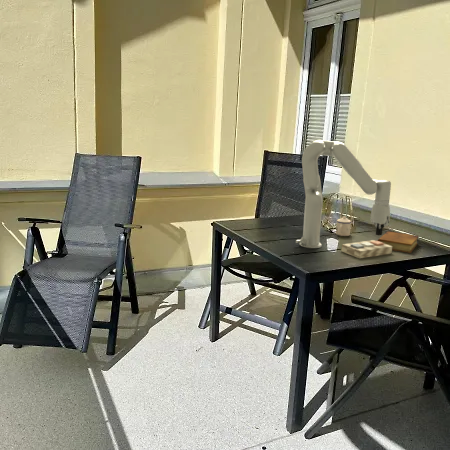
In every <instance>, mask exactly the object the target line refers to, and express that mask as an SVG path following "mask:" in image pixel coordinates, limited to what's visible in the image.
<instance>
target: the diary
mask: <svg viewBox="0 0 450 450" xmlns="http://www.w3.org/2000/svg"><path fill="white" fill-rule="evenodd" d="M418 239H419V235H415V234H407V233H403V232H402V233H401V232H395V231H389V230H388V231H386V232H385V233H384V234H382V235H381V236H380V237H379V238H378V239H377V240H376V241H379V242H382V243H384V244H387V245H390V246H392V251H395V252H396V251H397V252H403V253H408V254H411V253H412V252H413V251H414V249H416V247H417V245H418V243H417V242H418Z"/></svg>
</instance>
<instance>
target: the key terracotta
mask: <svg viewBox="0 0 450 450" xmlns="http://www.w3.org/2000/svg"><path fill="white" fill-rule="evenodd" d="M370 243H372V244H374V245H376V246H380V245H384V243H382V242H379V241H377V240H375V241H371V242H370Z"/></svg>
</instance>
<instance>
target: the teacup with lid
mask: <svg viewBox="0 0 450 450" xmlns="http://www.w3.org/2000/svg"><path fill="white" fill-rule="evenodd" d="M346 217H347V216H342V217H341V218H338V219H337V220H336V227H335V229H336V230H335V234H336V235H337V236H340V237H341V236H342V237H348V236H350V234H351V227H352V226H351V225H352V220H350V219H349V218H346Z"/></svg>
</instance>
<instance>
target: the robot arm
mask: <svg viewBox="0 0 450 450" xmlns="http://www.w3.org/2000/svg"><path fill="white" fill-rule="evenodd" d="M321 156H324V157H325V156H326V157H333V158H334V159H335V161H337V163H338V164H339V165H340V166H341V167H342V169H343V170H344V171H345V172H346V173H347V175H348V176H350V177H351V178H352V180H354V182H355V183H356V184H357V185H358V187H359V188H360V189H362V191H363V193H365V195H368V196H371V195H374V194H375V197H374V200H373V201H374V203H373V205H372V207H371V213H370V222H371V223H372V224H373V225H375V236H383V229H384V227H388V226H389V223H390V220H391V208H390V199H391V190H392V189H391V188H392V182H391V180H387V179H379V180H378V179H373V178H372V177H371V176H370V174H369V173H368V172H367V171H366V170H365V168H364V167H363V165H362V164H361V163H360V161H359V159H357V158H356V156H355V155H354V154H353V153H352V152H351V150H350V149H349V148H348V147H347V146H346V144H345V143H344V142H341V141H334V140H333V141H331V140H322V139H315V140H313V141H312V142H311V143H310V144H308V145H307V147H306V148H305V149H304V151H303V153H302V157H301V165H302V176H303V177H302V179H303V185H304V187H303V188H304V193H305V194H304V195H305V201H304V212H303V213H304V215H303V216H304V217H303V230H302V237H300V239H296V240H295V244H299V246H301V247H303V248H307V249H319V248H322V243H321V242H320V237H321V235H320V234H321V224H322V214H323V213H322V211H323V204H324V203H323V202H324V198H323V190H322V182H321V176H320V174H319V163H318V159H319V158H320V157H321Z"/></svg>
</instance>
